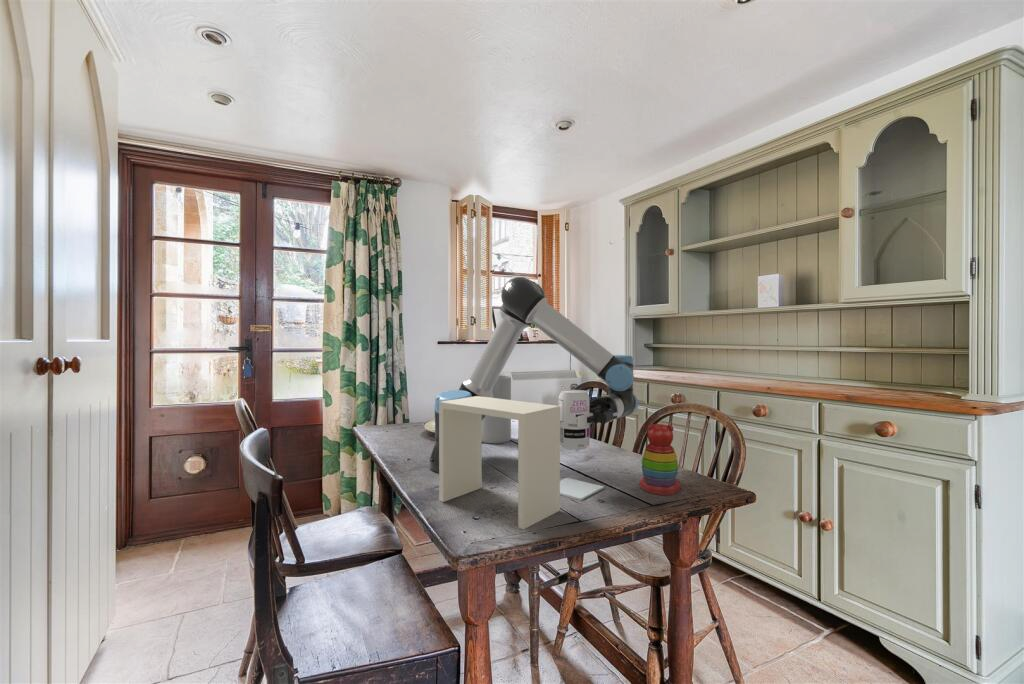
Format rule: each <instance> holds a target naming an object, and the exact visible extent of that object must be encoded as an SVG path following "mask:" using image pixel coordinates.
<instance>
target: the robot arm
mask: <svg viewBox="0 0 1024 684" xmlns="http://www.w3.org/2000/svg"><path fill="white" fill-rule="evenodd" d="M500 296H501V297H500V299H501V302H502V305H501V306H500V309H499V313H500V319H499V320H498V323H497V324H496V326H495V329H494V330H493V332H492V334H491V337H490V338H489V341H488V342H487V344H486V346H485V347H484V350H483V351H482V353H481V356H480V357H479V359H478V362H477V363H476V365H475V367H474V369H473V371H472V372H471V374H470V377H469V378H468V379H464V380H462V382H461V384H460V386H459V388H458V389H455V390H448V391H442V392H439V394H437V395H436V396H435V399H434V407H433V408H434V446H433V449H432V451H431V454H430V457H429V463H428V464H429V465H428V466H429V470H431V471H433V472H435V473H439V402H442V401H448V400H455V399H461V398H468V397H475V396H481V397H490V398H493V393H492V389H493V387H494V385H495V383H496V381H497V379H498V377H499V375H501V374H502V371H503V370H504V367H506V364H507V362H508V360H509V358H510V356H511V354H512V353H513V351H514V349H515V347H516V345H517V343H518V341H519V340H520V337H521V335H522V333H523V331H524V329H528V328H530V327H531V326H532V324H533V325H534V326H535V327H536V328H537V329H538V330H540V331H541V332H542V333H544V334H545V335H546V336H548V337H549V338H550V339H551V340H552V341H554V342H555V343H556V344H558V345H559V346H560V347H561V348H563V349H564V350H565V351H567V353H569V354H570V355H572V356H573V357H574V358H575V359H576V360H578V361H579V362H580V363H581V364H583V365H584V366H585V367H587V368H588V369H589V370H590V371H591V372H593V373H594V374H595V375H597V376H598V377H599V378H600V379H601V380H602V381H603V382H605V383H606V384H607V386H608V394H607V395H603V396H598V397H595V398H594V399H592V400H591V402H589V413H588V414H585V415H581V416H578V427H582V426H586V425H589V426H590V425H591V424H598V423H599V424H602V425H604V424H607V423H611V422H613V421H614V420H617V419H619V418H623V417H628V416H631V415H632V414H634V413H635V412H636V411H637V410H638V407H639V400H638V398H637V396H636V395H635V394H634V379H635V377H634V357H633V356H632V355H628V354H612V353H611V352H610V351H609V350H607V349H606V348H605V347H604V346H603V345H602V344H600V343H599V342H597V341H596V340H595V339H594V338H592V337H591V336H590V335H589V334H587V333H586V332H585V331H583V330H582V329H581V328H579V327H578V326H577V325H576V324H574V322H572V321H571V320H569V319H568V318H567V317H565V316H564V315H563V314H562V313H561V312H560V311H558V310H557V309H555V308H554V307H553V306H551V305H550V304H549V303H548V298H547V297H546V295H545V292H544V290H543V288H542V286H540V284H538V283H537V282H536V281H533V280H530V279H529V278H526V277H523V276H517V277H513V278H511V279H509V280H508V281H507V282H506V283H505V284H504V286H503V287H502V290H501V295H500ZM485 416H486V415H482V419H484V418H485Z"/></svg>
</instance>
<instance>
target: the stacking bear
mask: <svg viewBox="0 0 1024 684" xmlns="http://www.w3.org/2000/svg"><path fill="white" fill-rule="evenodd" d="M647 429H648V430H647V432H646V433H647V439H648V444H647V445H646V446H645V449H644V451H643V456H642V460H641V472H642V476H643V477H641V478H640V480H639V486H640V488H641V489H642V490H644V491H645V492H647V493H649V494H651V495H652V494H654V495H658V496H659V495H661V496H669V495H670V496H671V495H675V494H677V493H678V492H680V490H681V488H682V486H681V483H680V481H679V480H677V477H678V473H679V463H678V456H677V452H676V451H675V448H674V447H673V446H672V442H673V440H674V433H673V431H674V426H673V425H671V424H668V425H666V424H663V423H655V424H654V423H650V424H648V426H647Z"/></svg>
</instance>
